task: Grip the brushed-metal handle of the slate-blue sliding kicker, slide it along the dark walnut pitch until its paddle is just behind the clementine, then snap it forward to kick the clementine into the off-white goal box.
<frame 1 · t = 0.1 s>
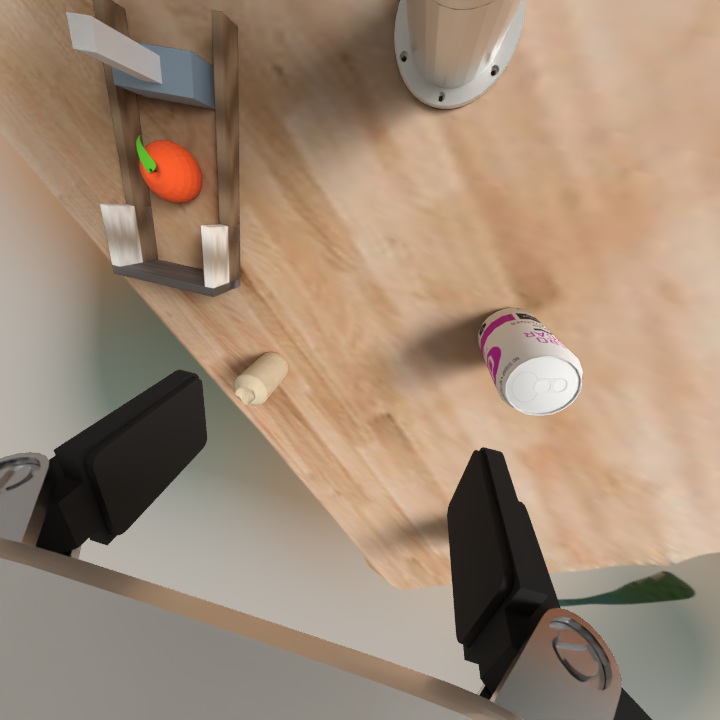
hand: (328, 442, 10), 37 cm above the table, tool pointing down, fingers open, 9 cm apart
candle: (274, 365, 54), on the table
supplement can: (506, 333, 44), on the table
clementine: (188, 171, 43), on the table
pitch: (187, 167, 42), on the table
kicker: (138, 61, 32), point 6 cm above the table, slide at 0.0 cm
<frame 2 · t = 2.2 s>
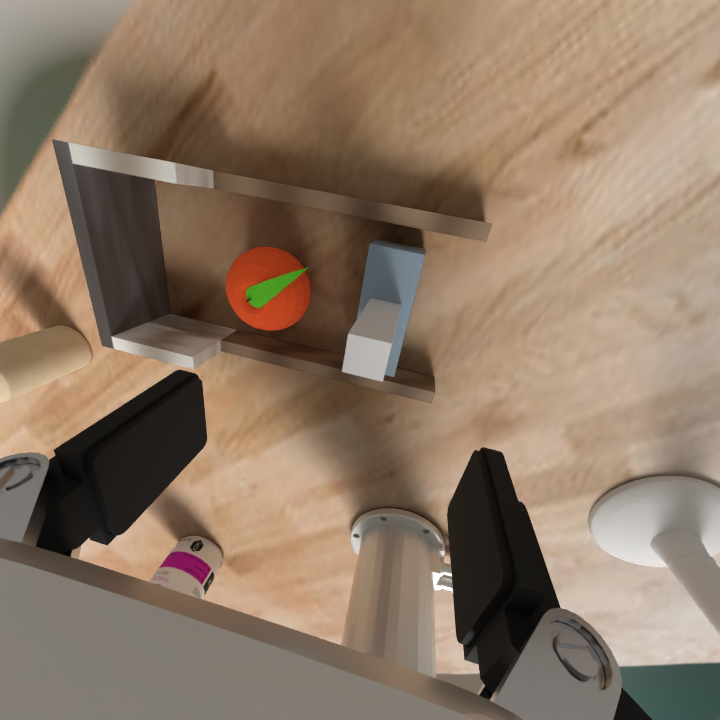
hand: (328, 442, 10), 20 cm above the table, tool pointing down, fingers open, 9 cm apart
candle: (74, 345, 38), on the table
supplement can: (203, 547, 52), on the table
candlestick: (656, 518, 33), on the table
clementine: (291, 278, 29), on the table
pitch: (295, 280, 29), on the table
kicker: (380, 323, 22), point 6 cm above the table, slide at 0.0 cm
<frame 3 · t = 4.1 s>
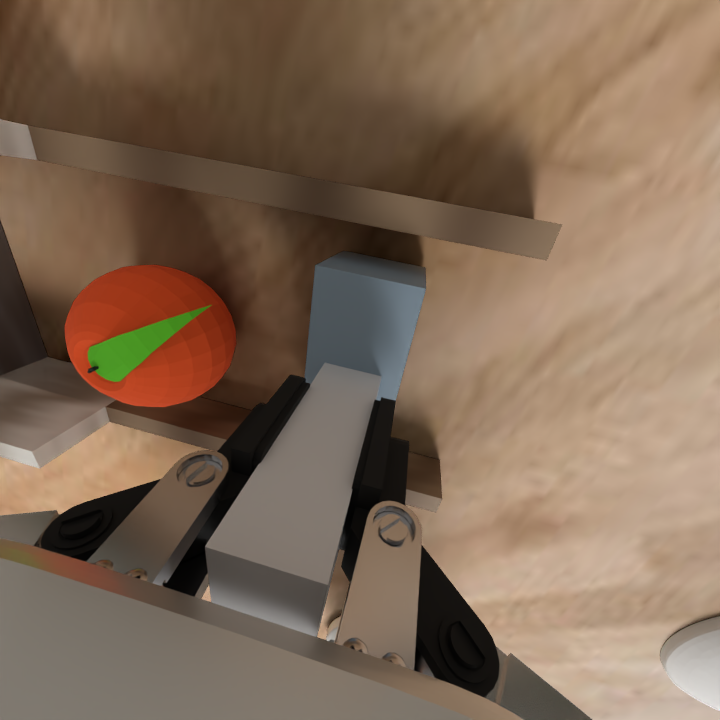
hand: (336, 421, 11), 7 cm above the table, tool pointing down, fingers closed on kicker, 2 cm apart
clementine: (213, 311, 18), on the table
pitch: (218, 314, 18), on the table
kicker: (338, 417, 12), point 6 cm above the table, slide at 0.0 cm, touching gripper
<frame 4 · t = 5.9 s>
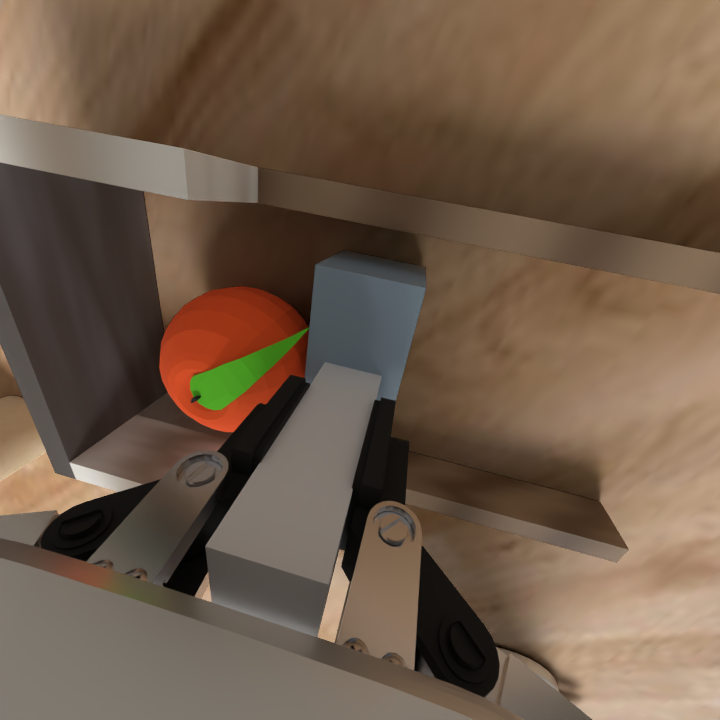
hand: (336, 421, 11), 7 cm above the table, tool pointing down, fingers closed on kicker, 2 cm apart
candle: (34, 420, 26), on the table
clementine: (283, 328, 18), on the table, touching kicker
pitch: (383, 352, 17), on the table
kicker: (339, 416, 12), point 6 cm above the table, slide at 9.9 cm, touching clementine, gripper
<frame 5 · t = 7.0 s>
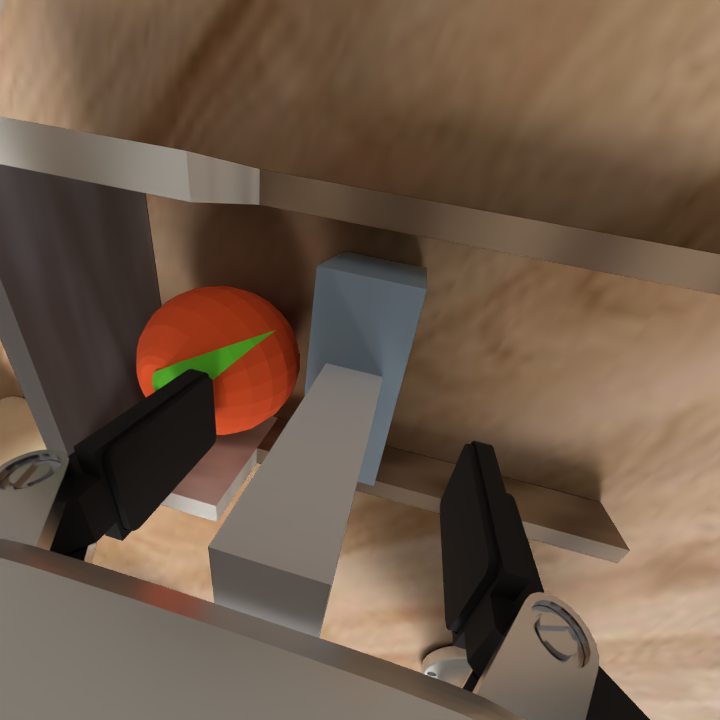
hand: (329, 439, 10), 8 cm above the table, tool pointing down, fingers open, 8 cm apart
candle: (35, 421, 26), on the table
clementine: (279, 332, 17), on the table
pitch: (383, 353, 17), on the table
kicker: (340, 417, 12), point 6 cm above the table, slide at 9.9 cm
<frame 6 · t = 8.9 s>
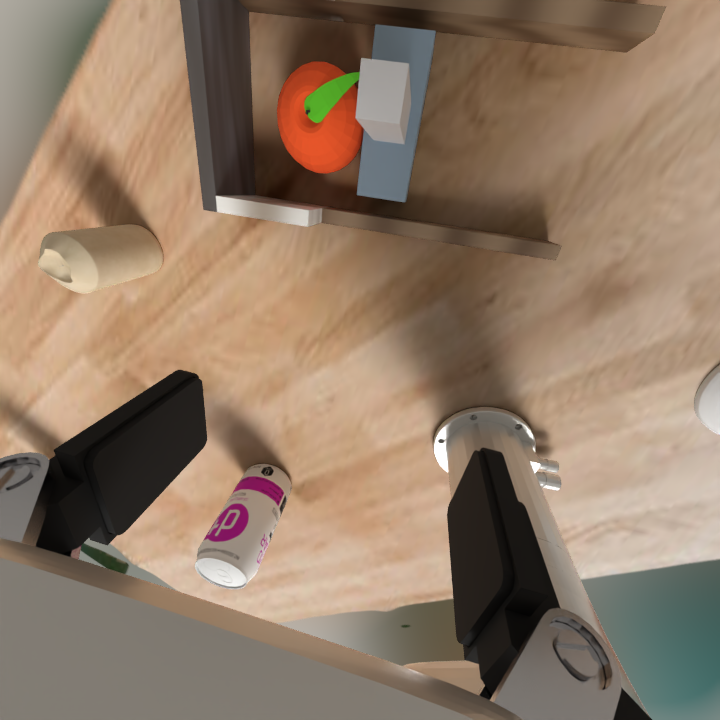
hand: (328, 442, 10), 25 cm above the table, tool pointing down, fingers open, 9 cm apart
candle: (143, 249, 36), on the table
supplement can: (270, 477, 52), on the table
clementine: (337, 126, 27), on the table
pitch: (403, 134, 26), on the table
kicker: (389, 117, 21), point 6 cm above the table, slide at 9.7 cm
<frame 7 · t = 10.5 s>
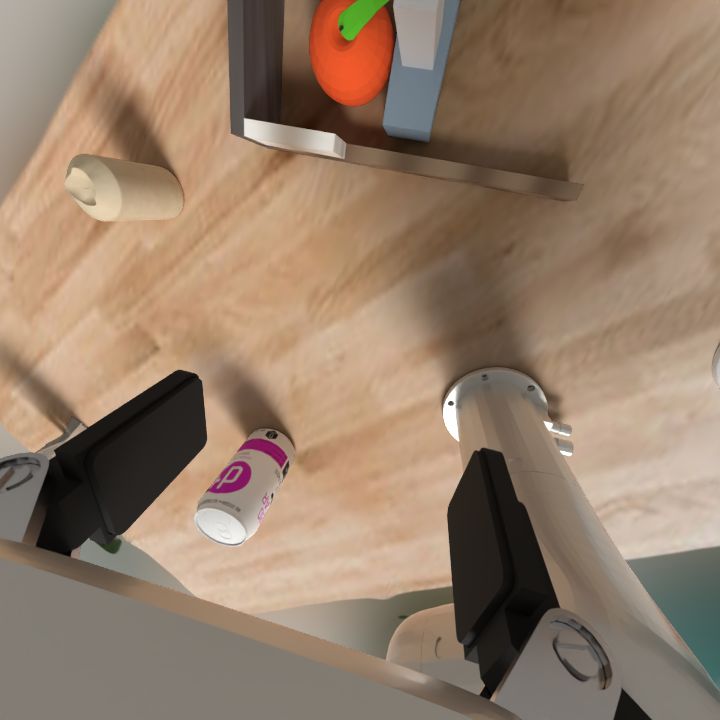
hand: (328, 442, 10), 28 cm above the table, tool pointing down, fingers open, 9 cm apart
candle: (164, 193, 36), on the table
supplement can: (273, 444, 51), on the table
clementine: (365, 65, 28), on the table
pitch: (429, 73, 27), on the table
kicker: (421, 35, 21), point 6 cm above the table, slide at 9.7 cm
skyscraper: (90, 435, 60), on the table
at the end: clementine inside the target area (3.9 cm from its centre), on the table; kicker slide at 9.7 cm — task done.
